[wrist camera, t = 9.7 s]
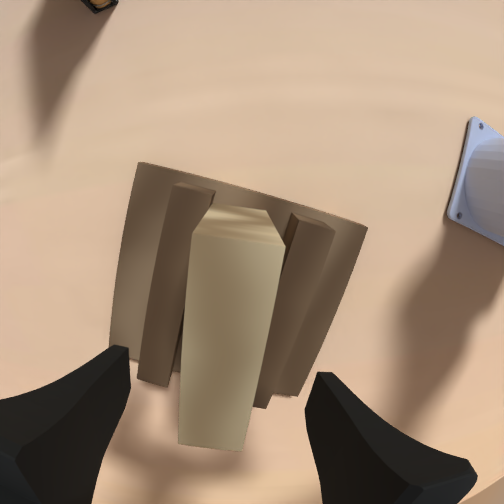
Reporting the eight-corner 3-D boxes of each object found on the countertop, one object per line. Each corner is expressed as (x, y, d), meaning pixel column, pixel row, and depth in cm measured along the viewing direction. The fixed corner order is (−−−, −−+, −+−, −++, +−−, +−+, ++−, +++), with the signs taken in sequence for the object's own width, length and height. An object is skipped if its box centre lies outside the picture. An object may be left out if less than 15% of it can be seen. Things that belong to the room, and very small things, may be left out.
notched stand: (362, 224, 19) (384, 237, 16) (295, 388, 23) (303, 419, 19) (143, 162, 18) (123, 162, 15) (113, 343, 21) (96, 370, 18)
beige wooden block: (266, 210, 18) (286, 246, 10) (240, 360, 21) (242, 451, 13) (212, 202, 18) (191, 233, 10) (195, 354, 20) (177, 443, 13)
